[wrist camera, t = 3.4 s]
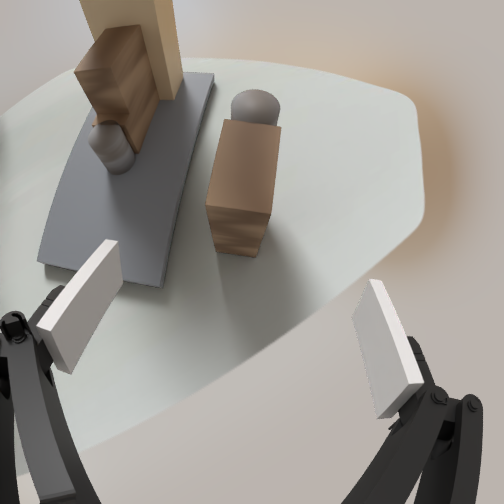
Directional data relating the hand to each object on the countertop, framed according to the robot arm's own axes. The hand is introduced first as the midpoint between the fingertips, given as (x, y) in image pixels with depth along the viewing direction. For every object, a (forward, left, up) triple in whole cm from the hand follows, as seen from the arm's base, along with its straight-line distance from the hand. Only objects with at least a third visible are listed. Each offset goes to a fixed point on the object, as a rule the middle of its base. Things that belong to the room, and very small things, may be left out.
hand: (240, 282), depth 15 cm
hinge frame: (-14, +12, -11) cm, 22 cm away
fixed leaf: (-14, +15, -10) cm, 22 cm away
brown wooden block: (-1, +8, -11) cm, 14 cm away
